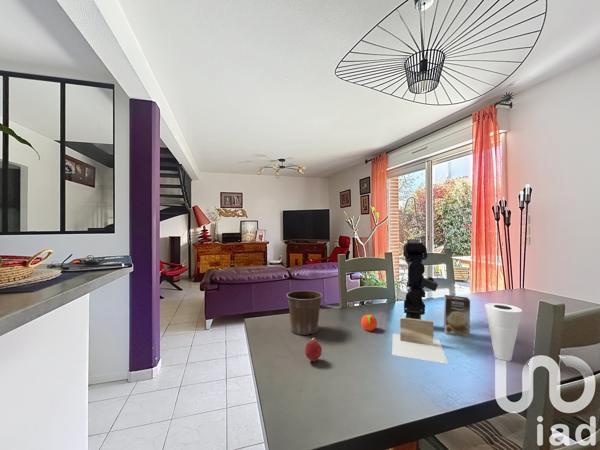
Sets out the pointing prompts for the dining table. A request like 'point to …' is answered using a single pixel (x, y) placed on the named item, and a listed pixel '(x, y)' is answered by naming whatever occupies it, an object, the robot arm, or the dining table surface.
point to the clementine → (368, 322)
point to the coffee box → (457, 316)
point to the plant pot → (304, 311)
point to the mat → (418, 350)
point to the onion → (313, 350)
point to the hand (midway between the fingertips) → (415, 308)
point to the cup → (503, 328)
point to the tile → (416, 331)
